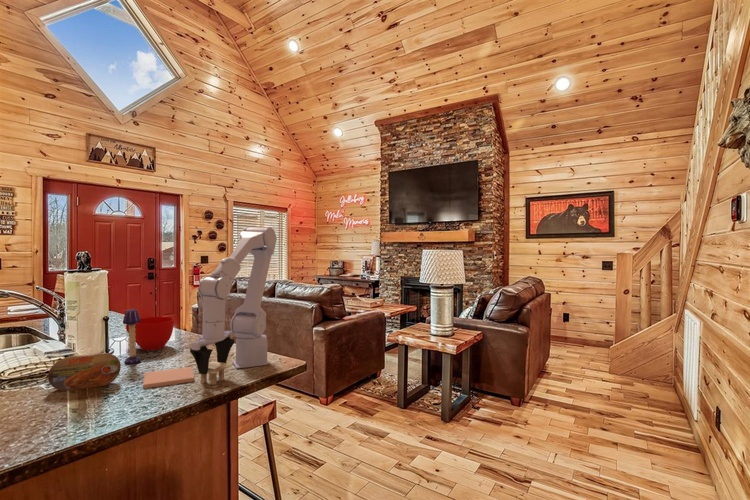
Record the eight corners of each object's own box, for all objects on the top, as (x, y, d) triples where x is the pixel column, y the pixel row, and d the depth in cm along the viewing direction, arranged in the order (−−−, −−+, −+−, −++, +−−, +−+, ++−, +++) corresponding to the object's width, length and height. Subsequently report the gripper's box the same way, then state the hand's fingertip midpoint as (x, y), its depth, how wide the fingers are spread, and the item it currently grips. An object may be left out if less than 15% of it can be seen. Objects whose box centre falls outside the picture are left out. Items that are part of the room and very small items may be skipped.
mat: (191, 370, 113) (191, 366, 113) (194, 381, 104) (194, 377, 104) (144, 376, 107) (144, 372, 107) (143, 388, 98) (143, 384, 98)
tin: (47, 393, 94) (47, 359, 93) (51, 388, 96) (51, 356, 96) (119, 384, 101) (120, 353, 100) (121, 380, 103) (121, 349, 103)
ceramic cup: (140, 341, 142) (140, 315, 142) (181, 344, 140) (181, 317, 139) (111, 351, 129) (112, 322, 129) (156, 354, 127) (156, 324, 127)
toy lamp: (131, 365, 115) (132, 311, 115) (118, 364, 116) (119, 310, 115) (143, 361, 120) (144, 308, 119) (131, 359, 120) (132, 308, 120)
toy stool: (211, 376, 108) (211, 361, 107) (226, 379, 106) (226, 363, 106) (198, 383, 103) (198, 366, 103) (214, 385, 101) (214, 368, 101)
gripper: (218, 314, 112) (217, 360, 112) (182, 324, 98) (180, 376, 98) (239, 316, 110) (238, 362, 111) (204, 326, 96) (203, 379, 97)
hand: (212, 369), depth 104 cm, fingers open, 7 cm apart
